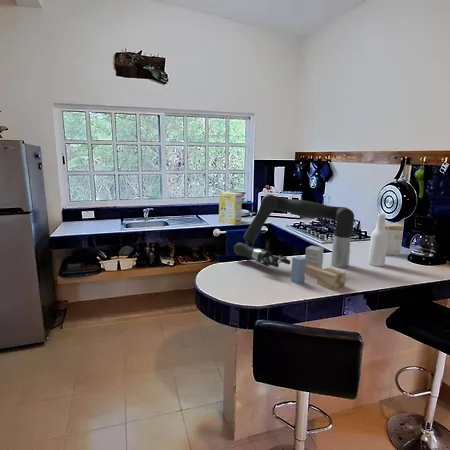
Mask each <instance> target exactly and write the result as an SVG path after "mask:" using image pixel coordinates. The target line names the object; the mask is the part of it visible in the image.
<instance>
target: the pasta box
mask: <svg viewBox="0 0 450 450" xmlns="http://www.w3.org/2000/svg"><path fill="white" fill-rule="evenodd" d="M218 197H219V200H218V202H219V203H218V223H220V222H221V224H227V225H233V226H235V225H239V224H242V203H243V193H242V192H230V191H223V192H219V196H218Z"/></svg>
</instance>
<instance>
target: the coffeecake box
mask: <svg viewBox="0 0 450 450" xmlns="http://www.w3.org/2000/svg"><path fill="white" fill-rule="evenodd" d="M376 225H377V223H375V226H376ZM375 229H376V227H375ZM375 229H374V230H375ZM385 231H386V232H387V234H388V240H387V249H386V256H399V257H400V256H401V249H402V248H401V247H402V240H403V232H404V225H401V224H399V223H385Z"/></svg>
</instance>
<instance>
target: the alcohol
mask: <svg viewBox="0 0 450 450" xmlns="http://www.w3.org/2000/svg"><path fill="white" fill-rule="evenodd" d="M377 214H378V215H377V220H376V224H377V225H376V224H375V228H376V229H373V231H372V232H371V234H370V241H369V242H370V244H369V250H368V251H369V254H368V261H367V262H368V265H369V266H373V267H377V268H378V267H384V266H385V263H386V256H387V255H386V249H387V240H388V234H387V232H386V231H385V224H386V218H387V217H386V216H387V214H386V213H381V212H379V213H377Z"/></svg>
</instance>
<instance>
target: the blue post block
mask: <svg viewBox="0 0 450 450" xmlns="http://www.w3.org/2000/svg"><path fill="white" fill-rule="evenodd" d="M291 261H292V262H291V273H290V282H292V283H295V284H297V285H299V284H302V283H305V277H306V276H305V275H306V274H305V263H306V258H305V257H303V256H299V255H297V256H294V257H292V260H291Z"/></svg>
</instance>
